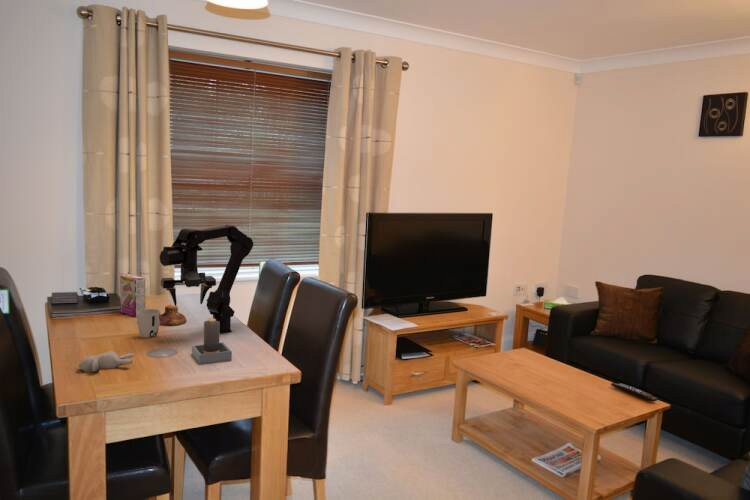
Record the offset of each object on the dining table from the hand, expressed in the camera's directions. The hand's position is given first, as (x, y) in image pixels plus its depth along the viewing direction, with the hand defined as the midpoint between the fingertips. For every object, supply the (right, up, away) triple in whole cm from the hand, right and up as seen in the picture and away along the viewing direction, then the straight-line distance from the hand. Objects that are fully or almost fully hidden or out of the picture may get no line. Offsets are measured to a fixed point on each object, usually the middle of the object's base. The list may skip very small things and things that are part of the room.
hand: (188, 304), depth 209 cm
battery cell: (+14, -16, -19) cm, 29 cm away
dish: (+14, -17, -19) cm, 29 cm away
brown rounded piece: (-14, -10, +22) cm, 28 cm away
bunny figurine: (-15, -17, -32) cm, 40 cm away
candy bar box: (-34, -7, +31) cm, 46 cm away
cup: (-15, -13, 0) cm, 19 cm away
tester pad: (-3, -16, -18) cm, 24 cm away
